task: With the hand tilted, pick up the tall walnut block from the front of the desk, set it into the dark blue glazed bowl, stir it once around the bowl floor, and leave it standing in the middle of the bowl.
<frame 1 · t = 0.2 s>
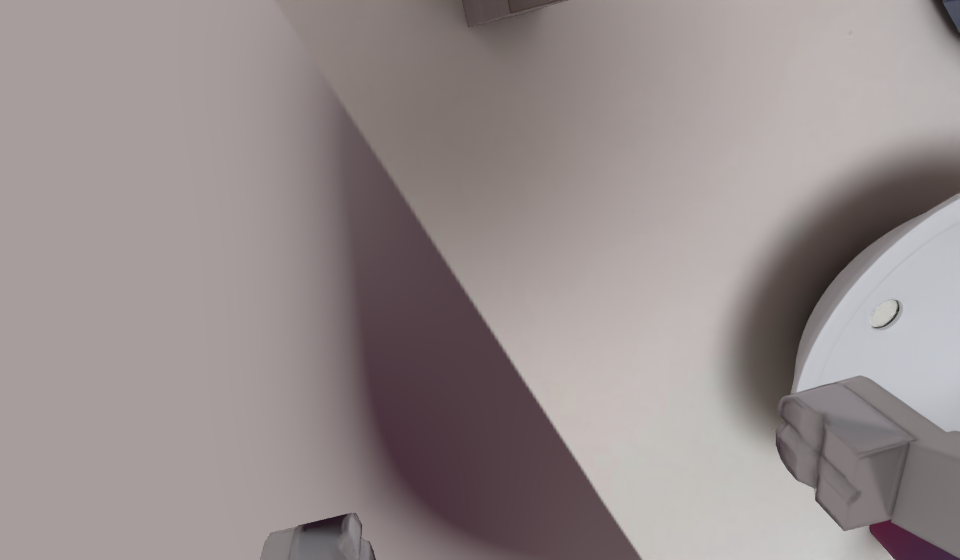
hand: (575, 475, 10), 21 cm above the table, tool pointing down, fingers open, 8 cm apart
cup: (892, 516, 48), on the table
white sink basin: (879, 311, 37), on the table
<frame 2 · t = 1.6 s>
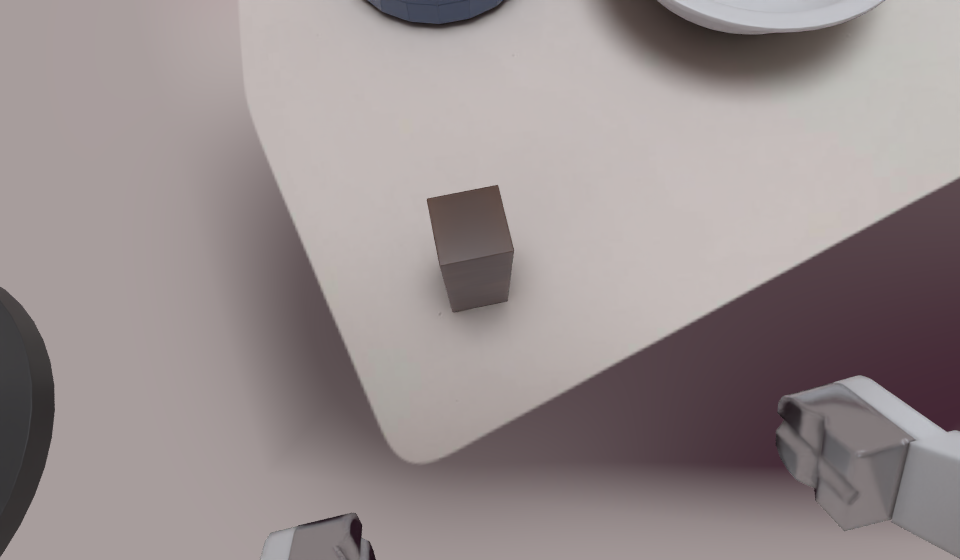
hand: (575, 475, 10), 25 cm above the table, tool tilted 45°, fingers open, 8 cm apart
block: (474, 280, 37), on the table
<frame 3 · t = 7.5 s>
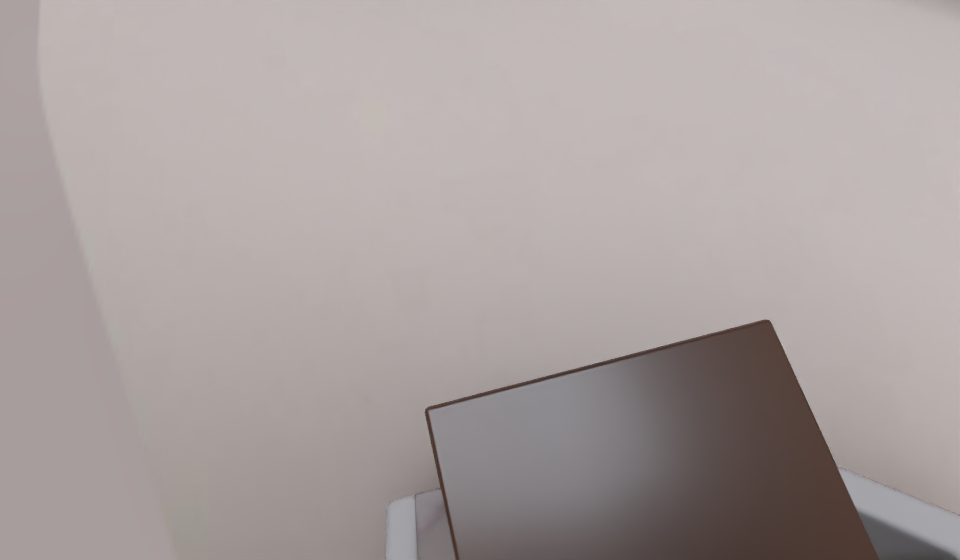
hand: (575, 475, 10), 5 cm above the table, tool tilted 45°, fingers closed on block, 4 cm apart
block: (556, 491, 14), on the table, touching gripper
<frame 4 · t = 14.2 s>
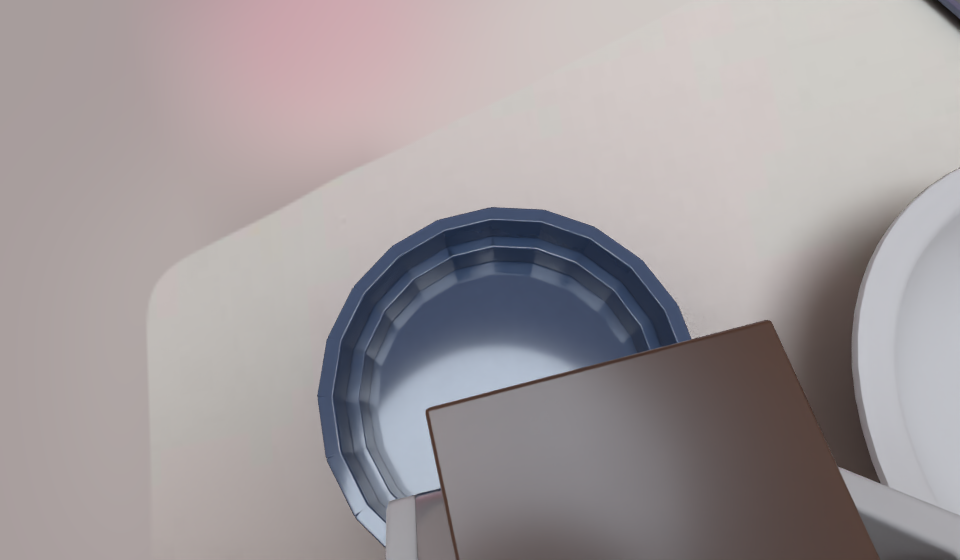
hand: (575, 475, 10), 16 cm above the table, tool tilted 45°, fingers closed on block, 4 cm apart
bowl: (506, 391, 26), on the table
block: (556, 492, 14), point 11 cm above the table, touching gripper
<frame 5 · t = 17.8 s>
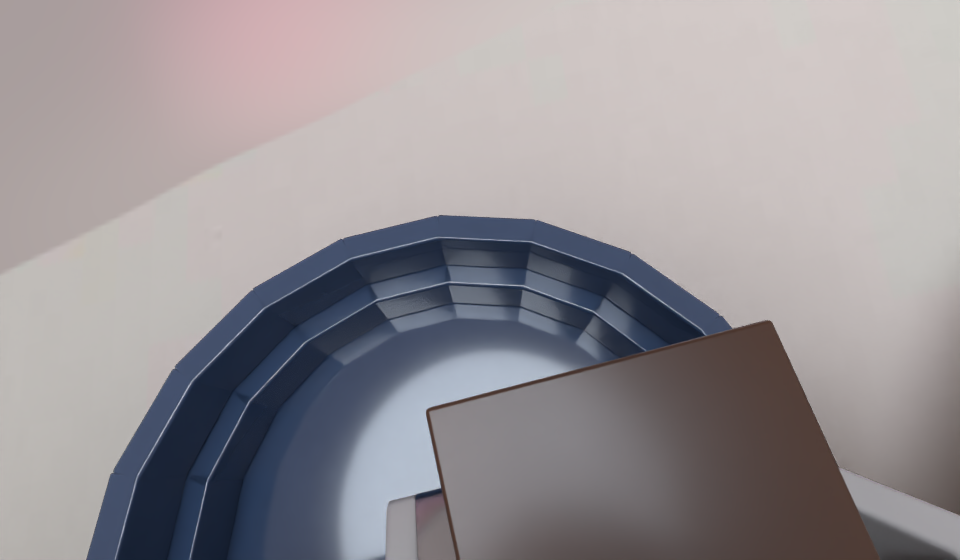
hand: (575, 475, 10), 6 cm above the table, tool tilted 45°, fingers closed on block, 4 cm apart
bowl: (472, 535, 15), on the table
block: (556, 492, 14), point 1 cm above the table, touching gripper
when the fingers open (6 cm above the table, at t = 21.3 s): block stays where it is, resting on bowl.
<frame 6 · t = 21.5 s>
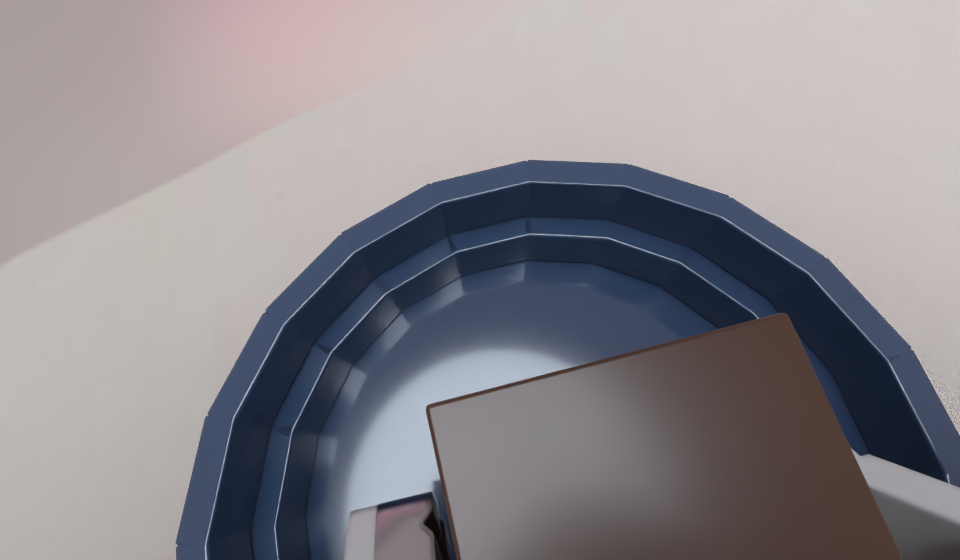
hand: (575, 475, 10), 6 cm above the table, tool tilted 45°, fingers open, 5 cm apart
bowl: (553, 492, 15), on the table
block: (558, 492, 14), point 1 cm above the table, touching bowl
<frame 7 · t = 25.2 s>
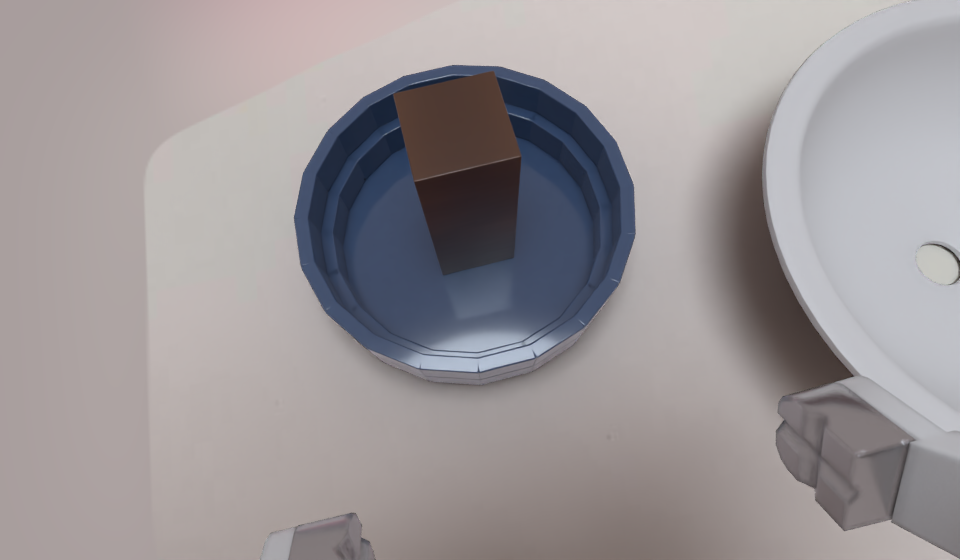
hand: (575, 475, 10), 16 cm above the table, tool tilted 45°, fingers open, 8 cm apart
bowl: (468, 239, 29), on the table
block: (469, 234, 28), point 1 cm above the table, touching bowl
white sink basin: (932, 266, 28), on the table
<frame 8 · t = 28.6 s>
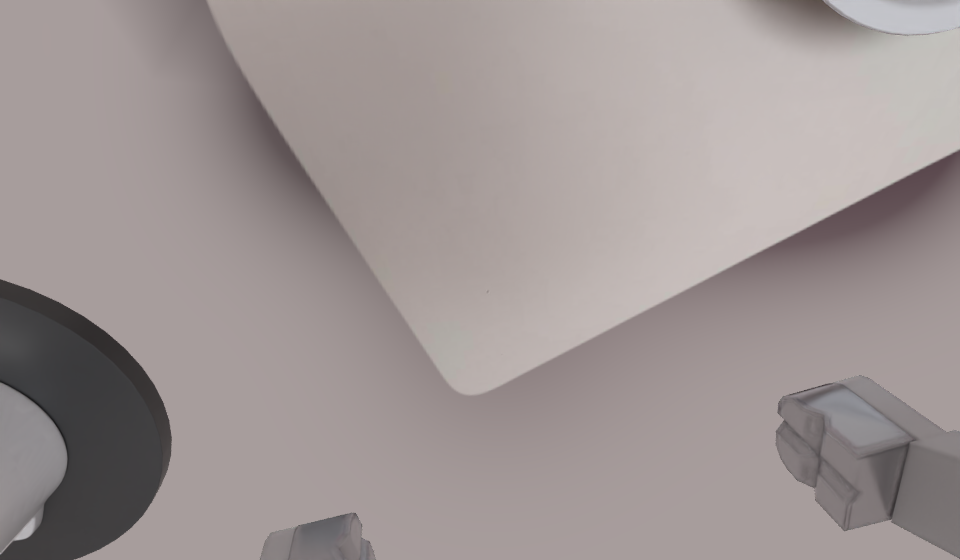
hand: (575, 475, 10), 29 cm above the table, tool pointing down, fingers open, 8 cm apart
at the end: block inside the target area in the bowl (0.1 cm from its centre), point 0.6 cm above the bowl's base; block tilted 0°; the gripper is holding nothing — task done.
